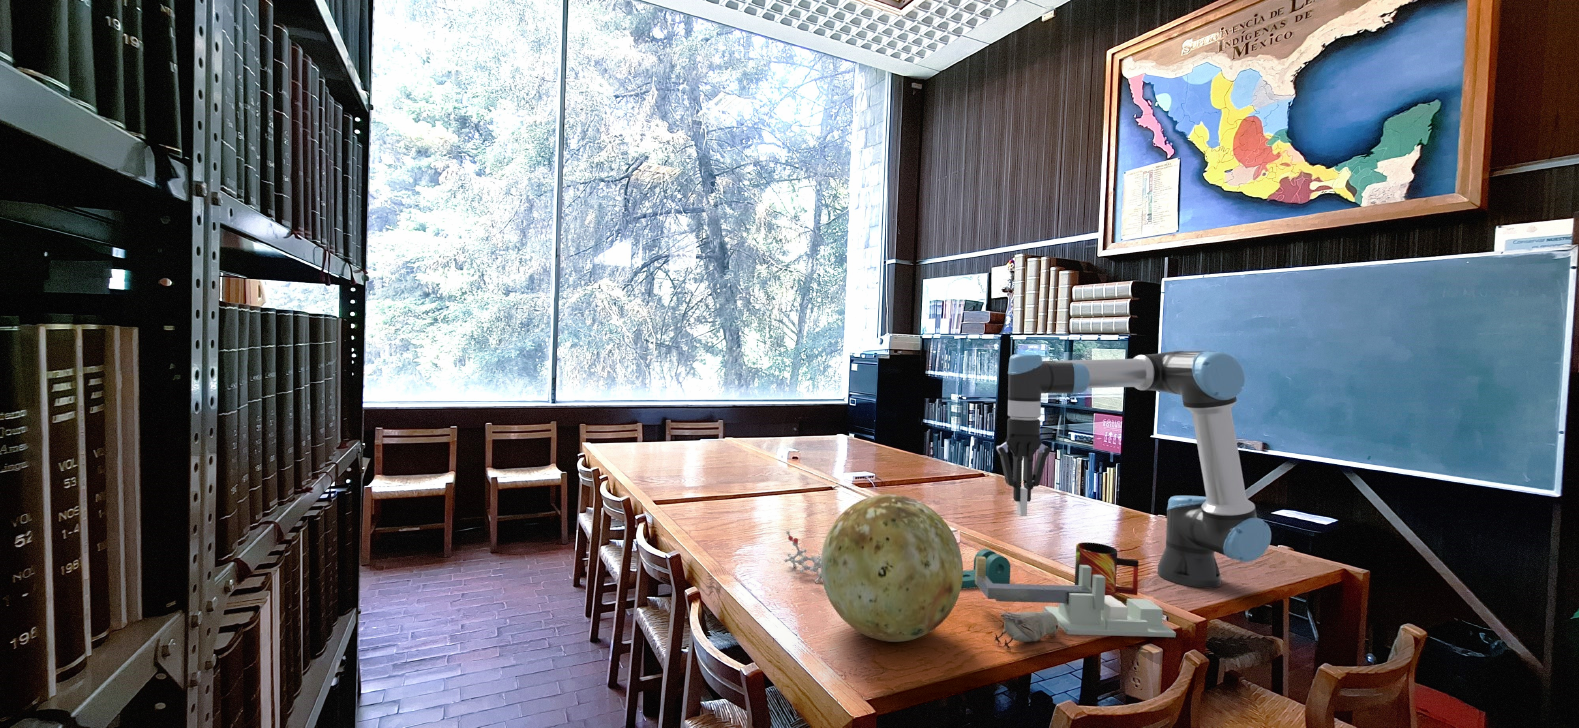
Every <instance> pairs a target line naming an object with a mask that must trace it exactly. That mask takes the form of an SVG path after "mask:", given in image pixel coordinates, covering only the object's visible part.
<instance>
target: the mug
mask: <svg viewBox="0 0 1579 728" xmlns="http://www.w3.org/2000/svg"><path fill="white" fill-rule="evenodd" d="M1139 563H1140V562H1139V559H1131V558H1130V559H1129V558H1121V557H1118V549H1116V548H1115V547H1113V546H1112V545H1111V546H1110V545H1107V544H1103V543H1097V542H1086V541H1085V542H1079V543H1078V542H1077V543H1076V545H1075V563H1074V564H1075V567H1074V585H1079V565H1088V566H1090V567H1091V588H1092V581H1093V575H1102V576H1104V577H1105V595H1110V596H1112V597H1113V598H1115V599H1116V595H1117V594H1123V595H1131V596H1132V595H1133V596H1138V589H1139V581H1138V580H1139V579H1138V578H1139ZM1118 566H1124V567H1132V584H1131V585H1132V587H1129V586H1122V585H1121V586H1120V585H1117V570H1118ZM1091 594H1092V591H1091Z"/></svg>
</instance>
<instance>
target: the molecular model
mask: <svg viewBox="0 0 1579 728" xmlns="http://www.w3.org/2000/svg"><path fill="white" fill-rule="evenodd" d="M785 531H786V532H785V533H786V534H787V536H788V537H787V540H788V541H789V542H792V546H794V547H795V548H796V550H797V552H796V554H794V555H792V554H791V553H790V552H789V553H787V557H788V558H784V563H788V562H790V563H792V567H793V568H794V567H796V568H797V566H802V568H800V570H799V573H804V571H809V572H810V573H812V572H814V573H817V574H818V575H817V576H818V577H817V578H816V579H814V583H815V582H818V583H819V581H820V580H821V579H822V576H821V571H819V569H821V556H820V555H817V556H815V555H811V556H810V557H808V555H804V554H803V553H807V551H808V550H807V549H806V548H803V549H800V548H799V539H798V538H797V537H794V536H793V535H791V534H790V530H785ZM798 556H801V558H799V559H798V560H797V559H796V558H797V557H798ZM807 561H810V562H811V561H812V563H813V566H808V565H807V564H804V563H805V562H807ZM797 564H798V565H797Z"/></svg>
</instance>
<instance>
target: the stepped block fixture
mask: <svg viewBox="0 0 1579 728" xmlns="http://www.w3.org/2000/svg"><path fill="white" fill-rule="evenodd" d="M1068 585H1069V586H1086V587H1087V588H1088V589H1090V590H1091V591H1092V594H1089V593H1069V603H1058V606H1047V605H1046V606H1043V611H1047V612H1051V613H1052V614H1053V615H1055V617H1056V618H1057V621H1058V626H1059V628H1061V630H1063V631H1064V633H1065V634H1067V635H1077V636H1078V635H1079V636H1112V637H1113V636H1118V637H1119V636H1123V637H1154V638H1155V637H1157V638H1159V637H1160V638H1176V635H1177V632H1176V631H1174V630H1173V629H1172V628H1170V627H1169V626H1168V625H1166V624H1165V623H1164V622H1163V613H1164V609H1163V608H1161V607H1160V606H1159V605H1158V604H1156V603H1154V602H1153V601H1151V600H1149V598H1126V606H1127V607H1128V614H1127V620H1122V619H1105V621H1104V620H1103V619H1102V618H1101V610H1104V600H1105V577H1104V576H1102V575H1093V581H1092V588H1091V567H1090V566H1088V565H1079V585H1075V584H1073V585H1072V584H1068ZM1118 601H1119V602H1121V603H1122V604H1123V602H1122V601H1120V600H1118Z"/></svg>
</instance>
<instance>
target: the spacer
mask: <svg viewBox="0 0 1579 728" xmlns="http://www.w3.org/2000/svg"><path fill="white" fill-rule="evenodd" d="M1119 601H1120V600H1118V599H1117V598H1116V597H1115V598H1113V597H1112V596H1110V595H1105V600H1104V610H1101V618H1102V619H1103V620H1104V621H1105V619H1122V620H1127V614H1128V607H1127V605H1125V604H1124V603H1123V602H1122V601H1121V602H1122V603H1121V602H1119Z"/></svg>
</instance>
